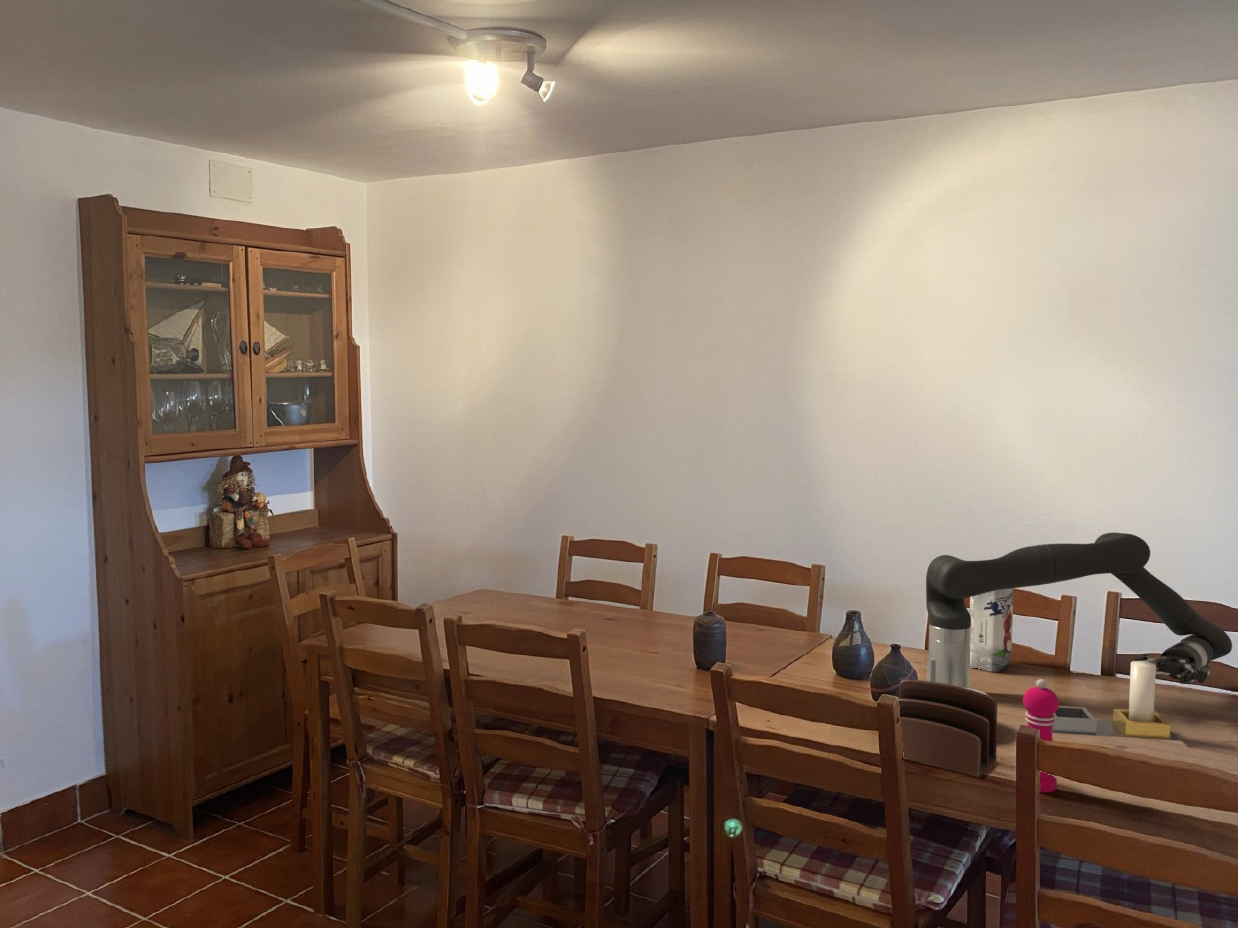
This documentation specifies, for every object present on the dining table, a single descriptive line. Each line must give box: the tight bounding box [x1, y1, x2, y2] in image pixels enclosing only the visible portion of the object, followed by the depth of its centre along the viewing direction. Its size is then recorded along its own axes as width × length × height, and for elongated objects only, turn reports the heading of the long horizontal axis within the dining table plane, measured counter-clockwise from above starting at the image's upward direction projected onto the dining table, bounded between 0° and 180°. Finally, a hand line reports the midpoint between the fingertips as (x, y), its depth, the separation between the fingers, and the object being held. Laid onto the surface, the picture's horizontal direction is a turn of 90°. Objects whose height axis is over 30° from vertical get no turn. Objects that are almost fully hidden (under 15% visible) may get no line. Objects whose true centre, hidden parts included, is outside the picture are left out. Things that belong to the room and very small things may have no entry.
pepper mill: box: [1022, 678, 1060, 793], centre depth 179 cm, size 7×7×20 cm
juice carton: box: [969, 588, 1014, 673], centre depth 253 cm, size 9×10×27 cm
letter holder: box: [896, 679, 998, 779], centre depth 193 cm, size 10×20×14 cm, turn 51°
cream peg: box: [1128, 661, 1157, 722], centre depth 205 cm, size 5×5×14 cm
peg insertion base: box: [1052, 705, 1181, 741], centre depth 207 cm, size 26×10×4 cm, turn 79°
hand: (1160, 674), depth 212 cm, fingers open, 8 cm apart
